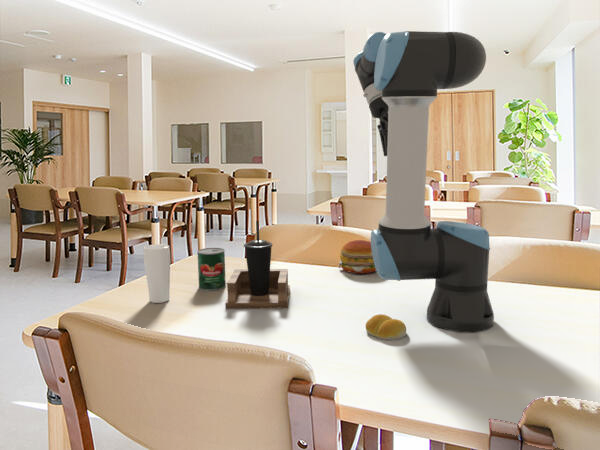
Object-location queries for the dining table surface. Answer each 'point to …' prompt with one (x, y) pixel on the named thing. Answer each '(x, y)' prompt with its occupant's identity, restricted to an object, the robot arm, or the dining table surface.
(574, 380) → the dining table surface
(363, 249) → the burger
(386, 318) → the bread roll
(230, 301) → the walnut rest
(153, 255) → the drinking glass
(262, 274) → the drinking cup
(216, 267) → the canned tomato
